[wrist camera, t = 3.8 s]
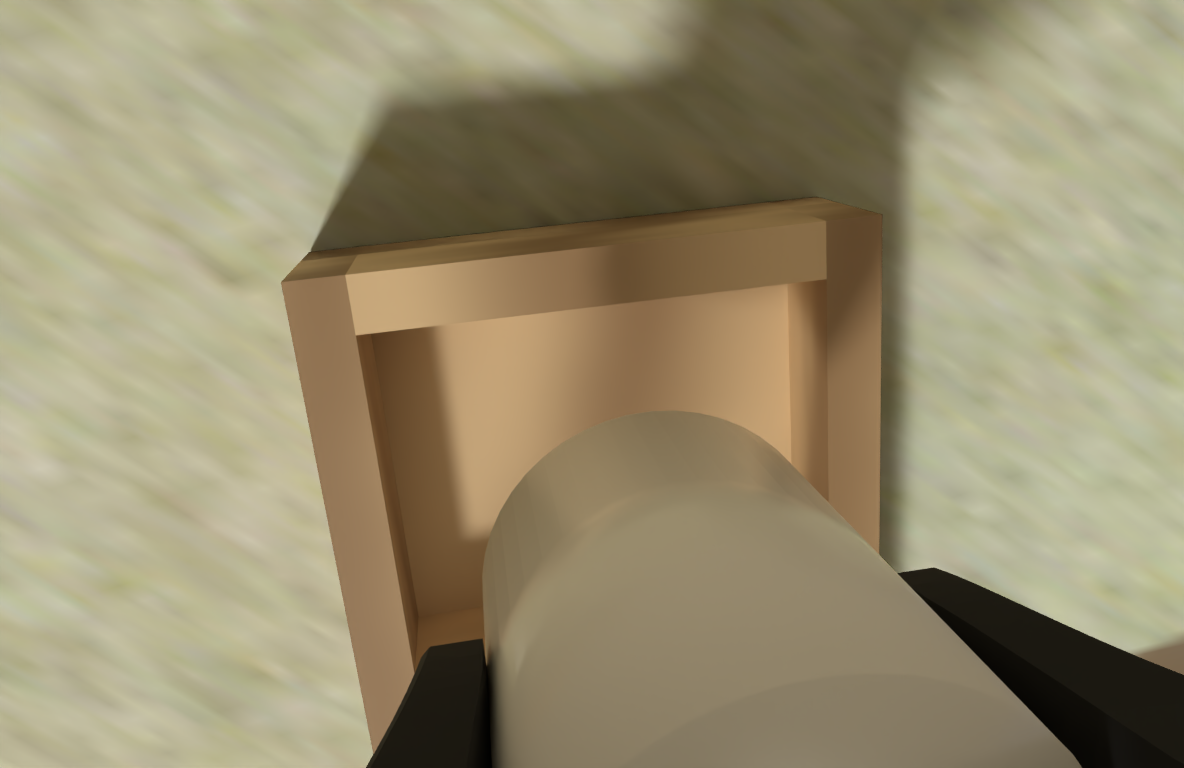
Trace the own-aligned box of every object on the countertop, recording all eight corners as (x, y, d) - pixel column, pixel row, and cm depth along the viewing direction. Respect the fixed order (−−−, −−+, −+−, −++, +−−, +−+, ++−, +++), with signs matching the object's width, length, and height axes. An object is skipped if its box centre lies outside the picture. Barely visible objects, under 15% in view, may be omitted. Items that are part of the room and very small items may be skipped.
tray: (816, 196, 18) (882, 214, 16) (824, 831, 23) (875, 932, 21) (309, 252, 17) (280, 282, 15) (429, 905, 22) (426, 1023, 19)
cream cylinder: (828, 395, 12) (1149, 634, 7) (820, 703, 14) (1081, 1125, 8) (467, 427, 12) (475, 723, 6) (496, 746, 13) (526, 1235, 7)
